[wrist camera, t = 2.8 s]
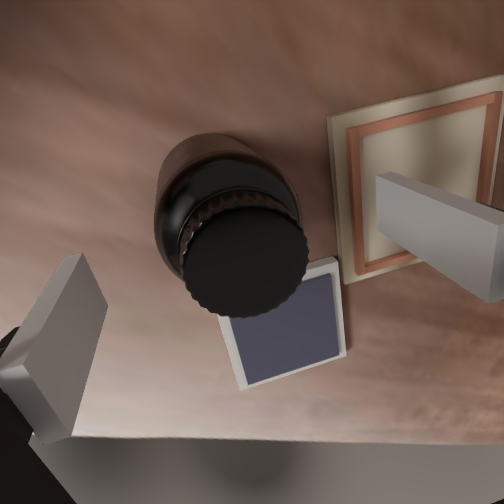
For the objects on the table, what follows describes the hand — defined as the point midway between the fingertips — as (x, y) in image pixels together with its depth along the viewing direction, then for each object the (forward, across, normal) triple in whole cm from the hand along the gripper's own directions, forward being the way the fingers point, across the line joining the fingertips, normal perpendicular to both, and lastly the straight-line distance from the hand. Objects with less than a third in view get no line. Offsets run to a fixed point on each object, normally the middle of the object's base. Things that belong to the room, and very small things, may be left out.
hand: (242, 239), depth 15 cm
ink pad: (+9, +3, -13) cm, 16 cm away
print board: (+9, +15, -4) cm, 18 cm away
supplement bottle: (+9, 0, 0) cm, 9 cm away
